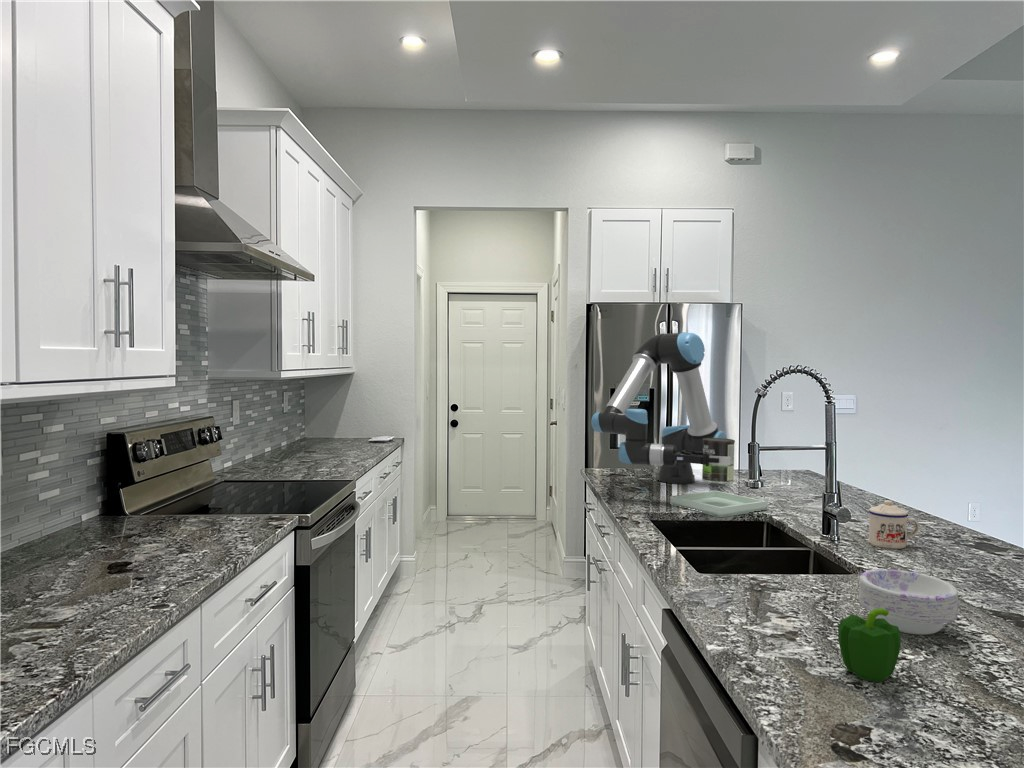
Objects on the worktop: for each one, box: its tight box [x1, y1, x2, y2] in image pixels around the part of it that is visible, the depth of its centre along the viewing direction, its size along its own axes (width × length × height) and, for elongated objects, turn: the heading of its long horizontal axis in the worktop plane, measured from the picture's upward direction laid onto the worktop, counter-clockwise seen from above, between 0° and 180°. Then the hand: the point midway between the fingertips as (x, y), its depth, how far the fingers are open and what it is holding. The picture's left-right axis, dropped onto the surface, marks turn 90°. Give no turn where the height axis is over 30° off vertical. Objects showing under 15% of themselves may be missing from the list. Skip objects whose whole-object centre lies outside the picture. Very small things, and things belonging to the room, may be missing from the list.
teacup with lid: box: [868, 499, 920, 550], centre depth 171 cm, size 12×9×12 cm
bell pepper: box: [837, 608, 902, 683], centre depth 97 cm, size 8×8×10 cm
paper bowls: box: [858, 569, 959, 636], centre depth 117 cm, size 15×15×8 cm
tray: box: [669, 490, 769, 518], centre depth 218 cm, size 22×22×3 cm
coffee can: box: [701, 438, 736, 485], centre depth 217 cm, size 10×10×14 cm
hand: (731, 459), depth 216 cm, fingers closed on coffee can, 10 cm apart
